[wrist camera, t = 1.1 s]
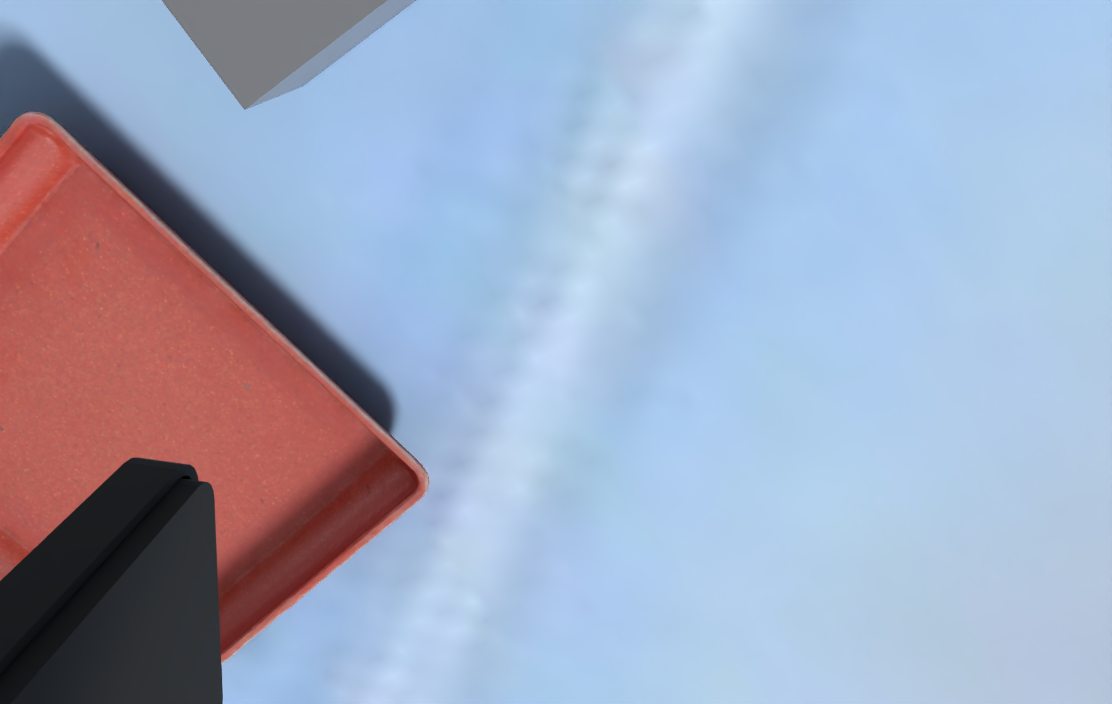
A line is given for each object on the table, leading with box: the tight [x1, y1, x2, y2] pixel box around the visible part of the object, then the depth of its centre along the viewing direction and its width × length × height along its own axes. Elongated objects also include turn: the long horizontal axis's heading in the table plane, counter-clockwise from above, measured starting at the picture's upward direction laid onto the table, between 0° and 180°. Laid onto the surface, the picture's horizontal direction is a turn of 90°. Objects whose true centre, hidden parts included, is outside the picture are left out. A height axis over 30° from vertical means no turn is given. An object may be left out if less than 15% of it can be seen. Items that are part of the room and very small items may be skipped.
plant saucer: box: [0, 111, 429, 664], centre depth 38 cm, size 18×18×3 cm
